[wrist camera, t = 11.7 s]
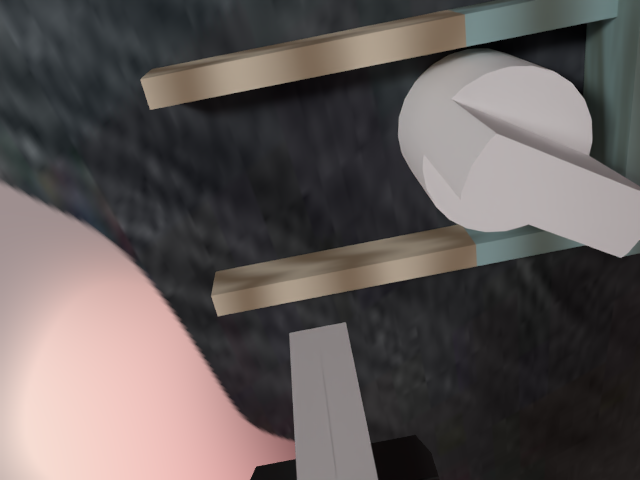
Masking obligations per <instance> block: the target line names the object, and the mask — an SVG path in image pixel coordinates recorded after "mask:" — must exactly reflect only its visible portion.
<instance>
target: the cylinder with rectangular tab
mask: <svg viewBox="0 0 640 480" xmlns="http://www.w3.org/2000/svg"><path fill="white" fill-rule="evenodd" d="M398 139H399V143H400V148H401V152H402V155H403V157H404V159H405V160H406V162H407V164H408V166H409V168H410V169H411V171H412V172H413V174H414V175H415V177H416V178H417V180H418V181H419V183H420V184H421V185H422V187H423V188H424V190H425V191H426V193H427V194H428V196H429V197H430V199H431V200H432V202H433V203H434V204H435V206H436V207H437V208H438V209H439V210H440V211H441V212H442V213H443V214H444V215H445V216H446V217H447V218H448V219H449V220H451V221H453V222H455V223H457V224H459V225H461V226H463V227H465V228H467V229H472V230H477V231H482V232H499V231H508V230H512V229H515V228H519V227H522V226H526V225H528V224H529V225H531V226H534V227H537V228H540V229H542V230H545V231H548V232H551V233H554V234H556V235H559V236H562V237H565V238H567V239H570V240H573V241H576V242H579V243H581V244H584V245H587V246H590V247H592V248H595V249H598V250H601V251H604V252H606V253H609V254H612V255H615V256H617V257H620V258H622V257H623V256H625V255H626V254H627V253H628V252H629V251H630V250H631V249H632V248H633V247H634V246H635V244H636V243H637V242H638V241H639V240H640V186H638V185H637V184H635V183H633V182H632V181H630V180H628V179H627V178H625V177H624V176H622V175H620V174H619V173H617V172H615V171H614V170H612V169H610V168H609V167H607V166H605V165H604V164H602V163H600V162H599V161H597V160H595V159H594V158H592V157H590V156H589V154H590V149H591V145H592V119H591V116H590V113H589V110H588V107H587V105H586V102H585V99H584V98H583V97H582V95H581V94H580V93H579V91H578V90H577V89H576V88H575V86H574V85H573V84H572V83H571V82H569V81H568V80H566V79H565V78H563V77H562V76H560V75H559V74H557V73H556V72H554V71H552V70H549V69H546V68H544V67H541V66H539V65H536V64H533V63H531V62H528V61H526V60H523V59H520V58H518V57H515V56H512V55H510V54H507V53H504V52H500V51H497V50H493V49H489V48H477V49H466V50H463V51H459V52H456V53H453V54H450V55H448V56H446V57H444V58H443V59H441V60H439V61H438V62H436V63H434V64H433V65H431V66H430V67H429V68H428V69H427V70H426V71H425V72H424V73H423V74H422V75H421V76H420V77H419V78H418V79H417V80H416V81H415V83H414V85H413V86H412V88H411V89H410V91H409V93H408V94H407V96H406V98H405V100H404V103H403V106H402V109H401V113H400V116H399V127H398Z"/></svg>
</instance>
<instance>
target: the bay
mask: <svg viewBox="0 0 640 480" xmlns="http://www.w3.org/2000/svg"><path fill="white" fill-rule="evenodd" d="M584 23H587V30H586V50H585V70H584V89H583V98H584V99H585V102H586V105H587V107H588V110H589V113H590V116H591V119H592V145H591V149H590V154H589V156H590V157H592V158H594V159H595V160H597V161H599V162H600V163H602V164H604V165H605V166H607V167H609V168H610V169H612V170H614V171H615V172H617V173H619V174H620V175H622V176H624V177H625V178H627V179H628V180H630V181H632V182H633V183H635V184H637V185H638V186H640V0H495V1H490V2H485V3H480V4H475V5H470V6H465V7H460V8H455V9H450V10H445V11H440V12H435V13H430V14H425V15H420V16H415V17H410V18H405V19H400V20H395V21H390V22H385V23H380V24H375V25H370V26H365V27H361V28H356V29H351V30H346V31H341V32H336V33H331V34H326V35H321V36H316V37H311V38H306V39H301V40H296V41H291V42H286V43H281V44H276V45H271V46H266V47H261V48H256V49H251V50H246V51H241V52H236V53H231V54H226V55H221V56H216V57H211V58H206V59H201V60H196V61H191V62H186V63H181V64H176V65H171V66H166V67H161V68H156V69H152V70H151V71H149V72H148V73H147V74H146V75H145V76H144V77H142V78H141V79H140V80H141V83H142V86H143V89H144V92H145V95H146V99H147V102H148V105H149V108H150V110H152V109H157V108H162V107H167V106H172V105H177V104H182V103H187V102H192V101H197V100H202V99H207V98H212V97H217V96H222V95H227V94H232V93H237V92H242V91H247V90H252V89H257V88H262V87H267V86H272V85H277V84H282V83H287V82H292V81H297V80H302V79H307V78H312V77H317V76H322V75H327V74H333V73H338V72H343V71H348V70H353V69H358V68H363V67H368V66H373V65H378V64H383V63H388V62H393V61H398V60H403V59H408V58H413V57H418V56H423V55H428V54H433V53H438V52H443V51H448V50H453V49H458V48H463V47H468V46H473V45H478V44H483V43H488V42H493V41H498V40H503V39H508V38H513V37H518V36H523V35H528V34H533V33H538V32H543V31H548V30H553V29H558V28H563V27H568V26H573V25H579V24H584ZM578 246H584V244H581V243H579V242H576V241H573V240H570V239H567V238H565V237H562V236H559V235H556V234H554V233H551V232H548V231H545V230H542V229H540V228H537V227H534V226H531V225H529V224H528V225H526V226H522V227H519V228H515V229H512V230H508V231H499V232H482V231H477V230H472V229H467V228H465V227H463V226H461V225H454V226H449V227H443V228H438V229H433V230H428V231H423V232H418V233H413V234H407V235H402V236H397V237H392V238H387V239H382V240H377V241H371V242H366V243H361V244H356V245H351V246H346V247H341V248H335V249H330V250H325V251H320V252H315V253H310V254H305V255H299V256H294V257H289V258H284V259H279V260H274V261H269V262H263V263H258V264H253V265H248V266H243V267H238V268H233V269H227V270H222V271H217V272H216V273H215V279H214V284H213V289H212V295H211V297H212V300H213V303H214V306H215V309H216V312H217V315H218V316H221V315H227V314H232V313H237V312H242V311H247V310H252V309H258V308H263V307H268V306H273V305H278V304H283V303H289V302H294V301H299V300H304V299H309V298H315V297H320V296H325V295H330V294H335V293H340V292H346V291H351V290H356V289H361V288H366V287H371V286H377V285H382V284H387V283H392V282H397V281H402V280H408V279H413V278H418V277H423V276H428V275H434V274H439V273H444V272H449V271H454V270H459V269H465V268H470V267H475V266H480V265H485V264H490V263H496V262H501V261H506V260H511V259H516V258H522V257H527V256H532V255H537V254H542V253H547V252H553V251H558V250H563V249H568V248H573V247H578ZM638 253H640V240H639V241H638V242H637V243H636V244H635V246H634V247H633V248H632V249H631V250H630V251H629V252H628V253H627V254H626V255H625V256H628V255H633V254H638Z"/></svg>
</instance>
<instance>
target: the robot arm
mask: <svg viewBox="0 0 640 480" xmlns="http://www.w3.org/2000/svg"><path fill="white" fill-rule="evenodd" d="M289 335H290V355H291V374H292V393H293V412H294V432H295V450H296V459H295V460H289V461H284V462H278V463H273V464H268V465H262V466H257V467H256V468H255V470H254V473H253V475H252V477H251V479H250V480H439V476H438V473H437V470H436V467H435V464H434V460H433V457H432V454H431V452H430V451H429V450H428V449H427V448H426V447H425V445H424V444H423V443H422V442H421V441H420V440H419V439H418V438H417V436H416V435H413V436H408V437H402V438H397V439H392V440H387V441H381V442H376V443H370V438H369V433H368V428H367V424H366V419H365V414H364V409H363V404H362V399H361V394H360V390H359V385H358V380H357V375H356V370H355V365H354V361H353V356H352V351H351V346H350V341H349V336H348V331H347V327H346V322H345V323H340V324H334V325H329V326H324V327H319V328H314V329H309V330H303V331H298V332H293V333H289Z"/></svg>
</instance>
